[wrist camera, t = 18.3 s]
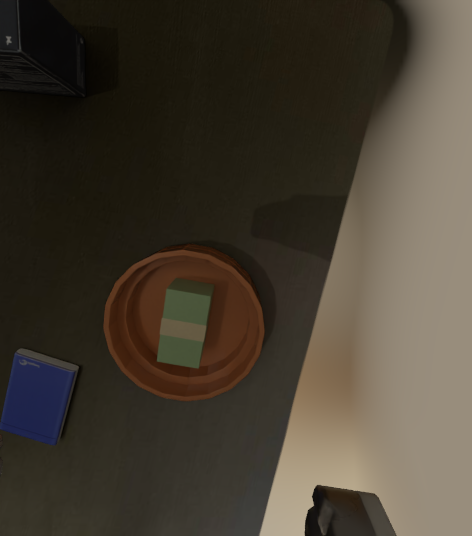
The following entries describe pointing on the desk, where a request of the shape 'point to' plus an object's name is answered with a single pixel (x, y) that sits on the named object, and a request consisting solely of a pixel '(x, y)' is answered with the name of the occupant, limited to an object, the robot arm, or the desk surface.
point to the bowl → (218, 332)
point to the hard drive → (38, 396)
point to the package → (185, 322)
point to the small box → (40, 50)
